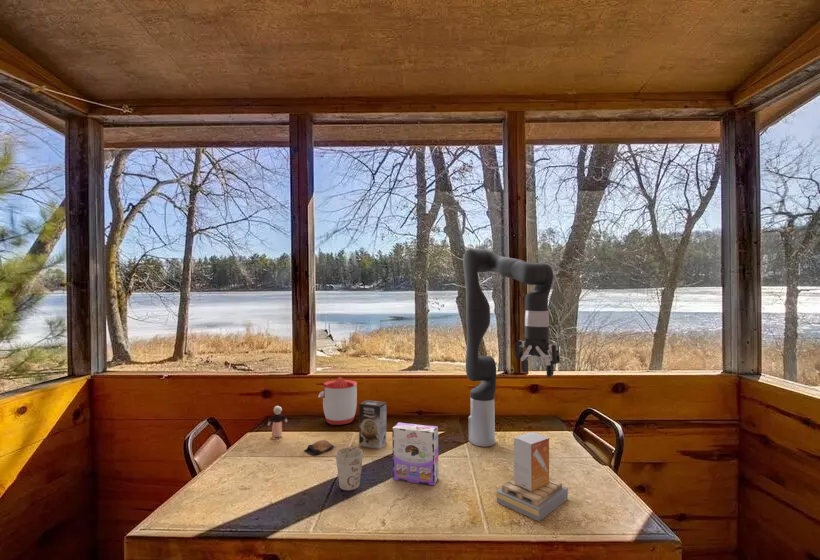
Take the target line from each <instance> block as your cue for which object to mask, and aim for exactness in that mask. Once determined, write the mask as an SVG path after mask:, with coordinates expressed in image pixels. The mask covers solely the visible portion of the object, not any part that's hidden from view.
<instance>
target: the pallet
mask: <svg viewBox="0 0 820 560" xmlns="http://www.w3.org/2000/svg"><path fill="white" fill-rule="evenodd" d="M562 486H563V482H561V481H558V480H555V479H554V478H550V477H549V484H547V485H545V486H542V487H540V488H538V489H536V490H534V491H532V492H531V491H529V490H527V489H525V488H523V487H521V486H519V485H517V484H515V483H514V477H513V478H511V479H510V480H508V481H507V482H505V483H503V484H501V488H502V487H503V488H502V492H505V493H509V492H510V491H512V492H515V493H517V494H516V498H518V499H521V500H522V499H523V498H525V497H526V498H529V499H531V504H532V505H535V506H538V505H539V504H541V503H542V502H543V501H545V500H546V499H547V498H549V497H550V496H551V495H553V494H554V493H555V492H557V491H558V490H560V489H561V488H562Z"/></svg>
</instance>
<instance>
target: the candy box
mask: <svg viewBox="0 0 820 560" xmlns="http://www.w3.org/2000/svg"><path fill="white" fill-rule="evenodd" d="M391 432H392V433H391V434H392V439H391V440H392V480H394V481H401V482H408V483H415V484H421V485H429V486H435V485H436V483H437V481H438V480H439V478H440V477H439V475H440V474H439V471H440V470H439V464H440V463H439V426H436V425H428V424H426V425H425V424H424V425H423V424H415V423H407V422H397V423H396V424H395V425H394V426H393V427H392V429H391Z"/></svg>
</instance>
